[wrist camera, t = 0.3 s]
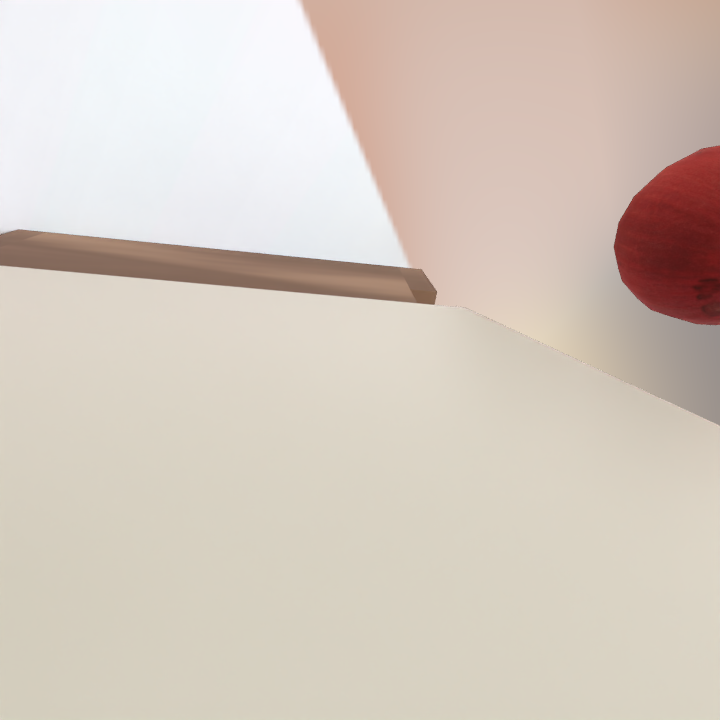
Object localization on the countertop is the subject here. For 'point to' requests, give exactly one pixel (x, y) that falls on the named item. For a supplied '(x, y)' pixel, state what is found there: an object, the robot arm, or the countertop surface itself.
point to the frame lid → (338, 515)
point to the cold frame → (213, 266)
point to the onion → (675, 240)
